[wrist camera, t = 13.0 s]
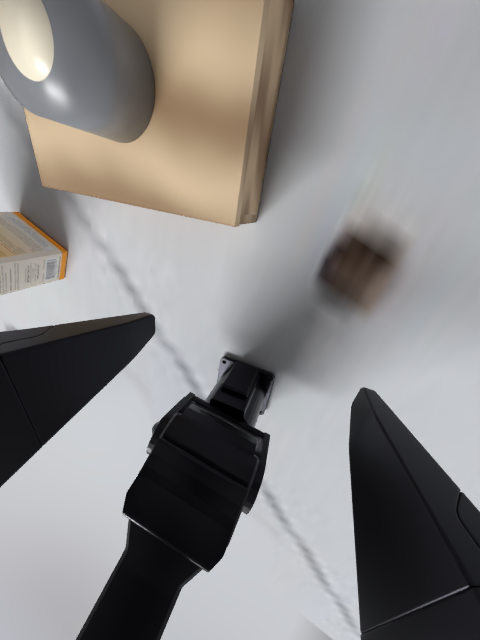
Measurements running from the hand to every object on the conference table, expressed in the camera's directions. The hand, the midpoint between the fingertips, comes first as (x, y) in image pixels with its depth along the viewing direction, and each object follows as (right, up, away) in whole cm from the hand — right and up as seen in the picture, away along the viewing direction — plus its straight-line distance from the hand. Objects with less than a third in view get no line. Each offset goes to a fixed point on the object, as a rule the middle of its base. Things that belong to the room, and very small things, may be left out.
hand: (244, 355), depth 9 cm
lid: (-7, +15, +4) cm, 17 cm away
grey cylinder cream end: (-7, +15, +4) cm, 17 cm away
